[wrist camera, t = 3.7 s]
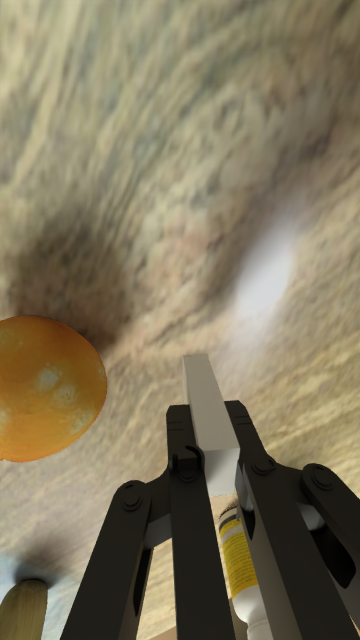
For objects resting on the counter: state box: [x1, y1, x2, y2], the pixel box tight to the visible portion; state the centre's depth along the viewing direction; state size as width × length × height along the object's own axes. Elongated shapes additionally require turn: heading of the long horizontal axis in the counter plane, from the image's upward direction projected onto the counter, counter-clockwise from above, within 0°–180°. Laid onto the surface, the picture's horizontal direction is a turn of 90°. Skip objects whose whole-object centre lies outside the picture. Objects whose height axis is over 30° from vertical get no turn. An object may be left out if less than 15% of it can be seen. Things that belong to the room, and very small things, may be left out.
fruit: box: [0, 316, 107, 462], centre depth 15 cm, size 8×8×8 cm
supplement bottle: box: [218, 508, 273, 640], centre depth 25 cm, size 5×5×10 cm
